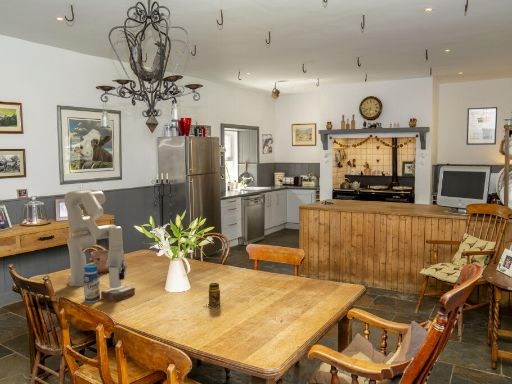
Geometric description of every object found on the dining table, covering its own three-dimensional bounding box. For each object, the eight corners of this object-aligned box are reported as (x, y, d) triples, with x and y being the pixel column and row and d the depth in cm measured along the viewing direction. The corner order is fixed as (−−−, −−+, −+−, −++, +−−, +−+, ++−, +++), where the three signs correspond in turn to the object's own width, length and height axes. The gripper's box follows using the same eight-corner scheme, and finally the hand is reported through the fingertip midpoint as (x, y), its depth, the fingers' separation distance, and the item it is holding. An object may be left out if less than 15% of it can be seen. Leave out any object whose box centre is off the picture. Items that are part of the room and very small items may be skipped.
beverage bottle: (96, 296, 248) (94, 262, 246) (102, 300, 242) (101, 265, 240) (82, 300, 242) (80, 265, 240) (88, 304, 236) (86, 268, 234)
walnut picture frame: (101, 298, 245) (101, 291, 245) (120, 291, 257) (120, 284, 257) (116, 301, 239) (115, 294, 238) (134, 294, 251) (134, 287, 250)
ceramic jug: (96, 276, 289) (95, 255, 287) (84, 272, 297) (83, 252, 296) (119, 270, 303) (118, 250, 302) (107, 267, 312) (106, 247, 310)
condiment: (217, 308, 227) (217, 286, 226) (203, 306, 230) (202, 285, 229) (223, 303, 234) (222, 282, 233) (208, 302, 237) (208, 281, 236)
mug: (112, 289, 241) (111, 268, 240) (107, 286, 246) (106, 265, 245) (128, 285, 248) (128, 265, 247) (123, 282, 253) (123, 262, 252)
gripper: (100, 247, 246) (101, 277, 248) (121, 251, 238) (122, 282, 239) (110, 245, 253) (112, 274, 255) (131, 248, 244) (133, 278, 246)
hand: (117, 278), depth 247 cm, fingers closed on mug, 6 cm apart
